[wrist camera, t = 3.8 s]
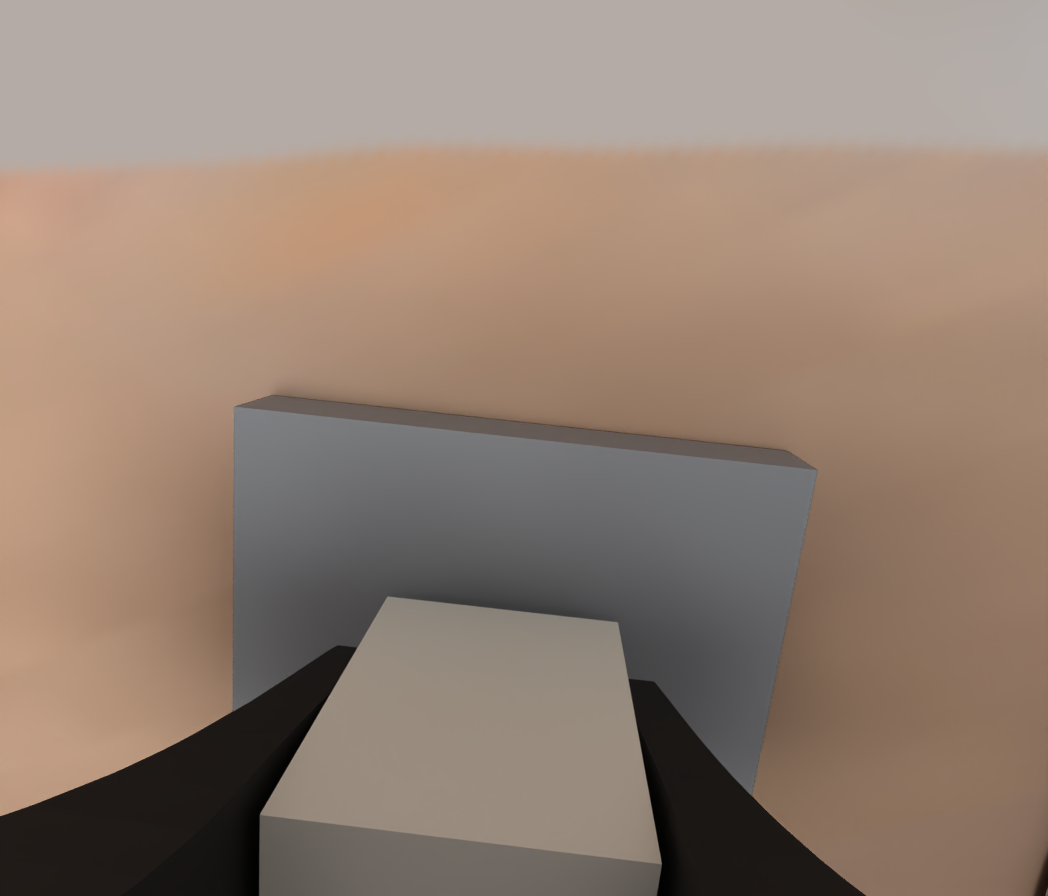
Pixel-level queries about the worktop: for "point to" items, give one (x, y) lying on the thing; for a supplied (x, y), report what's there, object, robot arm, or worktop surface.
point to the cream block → (468, 765)
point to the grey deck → (520, 545)
